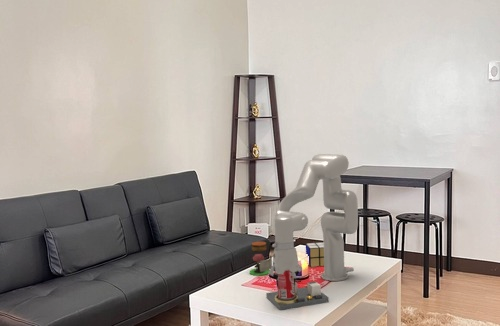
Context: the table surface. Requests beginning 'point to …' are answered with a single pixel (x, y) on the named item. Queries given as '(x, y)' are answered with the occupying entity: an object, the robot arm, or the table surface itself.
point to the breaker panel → (302, 300)
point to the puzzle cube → (315, 254)
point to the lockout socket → (286, 301)
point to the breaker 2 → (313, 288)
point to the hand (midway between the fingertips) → (286, 287)
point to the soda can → (286, 285)
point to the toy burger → (260, 260)
